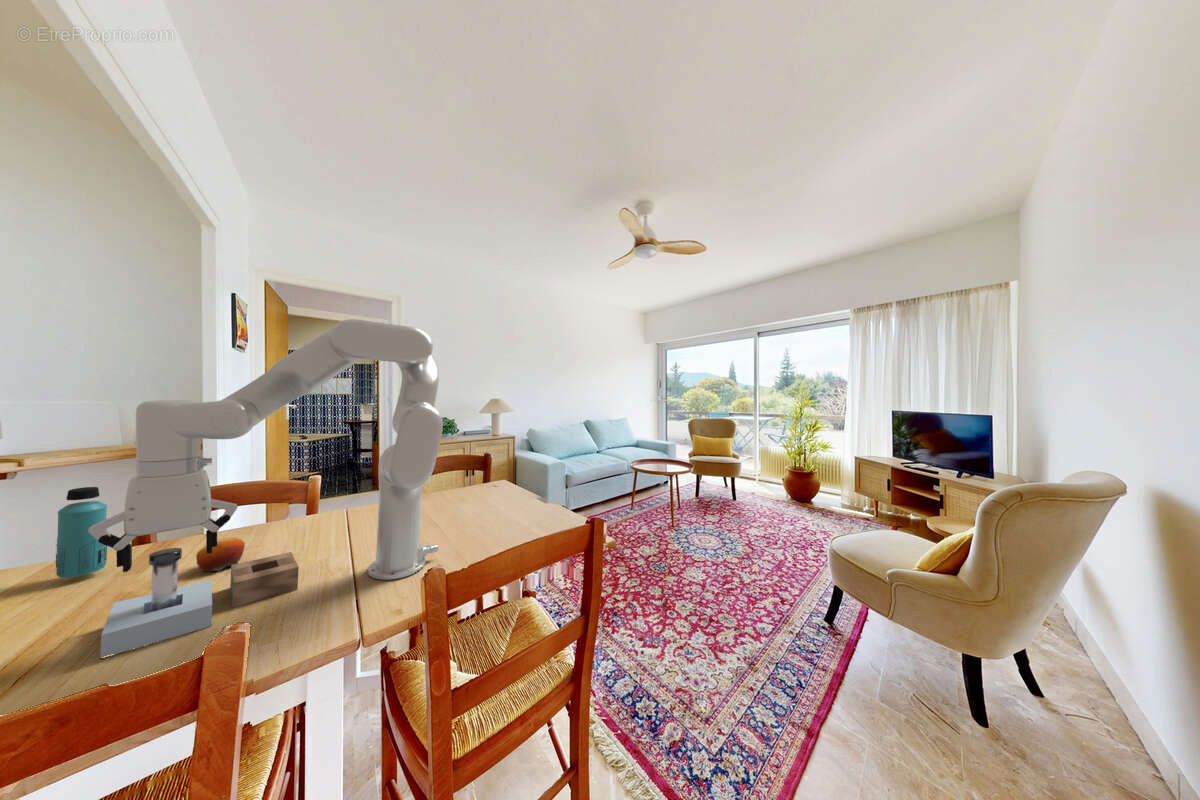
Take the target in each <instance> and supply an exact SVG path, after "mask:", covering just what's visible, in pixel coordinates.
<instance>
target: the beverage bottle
mask: <svg viewBox="0 0 1200 800" xmlns="http://www.w3.org/2000/svg"><path fill="white" fill-rule="evenodd" d="M98 497H100V491H99V487H97V486H86V487H77V488H76V487H75V488H73V489H69V490H68V491H67V495H66V498H65V499H66V501H79V502H74V503H70V504H67V505H65V506H64V507H61V509H59V510H58V511H57V537H56V547H55V550H56V553H55V568H56V569H55V570H54V571H55V573H54V574H56V576H57V577H58V578H61V579H67V578H74V577H76V578H77V577H81V576H86V575H89V574H93V573H95V572H99V571H101V570H102V569H104V568H105V566H106V564H107V563H108V559H107V556H108V546H106V545H104V544H101V543H99V542H98V540H97V539H95V538H94V537H93V536H92V535H91V534H90V533H89V532H88V529H89V528H90V527H91V526H93V525H95V524H97V523H99V522H102V521H104V520H106V519H107V513H108V511H107V509H108V505H107V504H106V503H104V502H101V501H99V500H88V499H95V498H98ZM80 500H82V501H81V502H80ZM83 500H87V501H83ZM106 530H107V531H108V528H107V529H106Z"/></svg>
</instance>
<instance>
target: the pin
mask: <svg viewBox="0 0 1200 800" xmlns="http://www.w3.org/2000/svg"><path fill="white" fill-rule="evenodd" d="M182 549H183V548H181V547H171V548H165V549H160V550H158V551H157V550H156V551H154V552H152V553H150V554H149V556H148V565H150V566H151V570H152V573H151V591H150V592H151V593H150V594H151V612H154V611H158V610H162V609H165V608H169V607H173V606H176V605H177V588H178V580H179V579H178V576H179V575H178V573H179V572H178V571H179V560H181V559H182V556H183V555H182V554H183V553H182V552H183V550H182Z"/></svg>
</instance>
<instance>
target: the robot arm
mask: <svg viewBox="0 0 1200 800" xmlns="http://www.w3.org/2000/svg"><path fill="white" fill-rule="evenodd" d="M433 348H434V344H433V341H432V339H431V336H429V334H428V333H426V332H425V331H424V330H422V329H420V328H417V327H413V326H409V325H408V326H407V325H402V324H401V325H400V324H394V323H393V324H392V323H384V322H377V321H371V320H364V319H358V318H357V319H355V318H349V319H344V320H341V321H339V322H337V323H336V324H335V325H334V326H333V327H332V328H330V329H328V330H327V331H326V332H323V333H322V334H321V335H318V336H317V337H315V338H313V339H312V340H311V341H309V342H306V344H304V345H302V346H301V347H299V348H297V349H295V350H294V351H292V352H289V354H287V355H286V356H284V357H282V358H281V359H279V360H278V361H276V362H275V363H274V364H273V365H272V366H271V367H269V369H268V370H267V371H266V372H264V373H263V374H262V375H260V376H259V377H257V378H256V379H254V380H252V381H250V382H249V383H248V384H246V385H245V386H243V387H241V388H240V389H238V390H236V391H234V392H233V393H231V394H230V395H228V396H226V397H224V398H223V399H221V400H215V401H205V402H196V401H191V400H183V399H182V400H175V399H174V400H173V399H172V400H171V399H168V400H166V399H165V400H163V399H161V400H158V399H157V400H148V401H143V402H141V403H139V404H138V406H136V411H135V425H136V426H135V431H136V432H135V435H136V436H135V439H136V440H135V443H136V447H135V448H136V449H135V450H136V451H135V452H136V455H135V457H136V462H135V463H136V466H135V467H136V476H134V477H131V478H130V479H129V482H128V486H127V490H126V494H125V503H124V511H121V512H120V513H117V514H115V515H113V516H111V517H108V518H106V520H104V521H102V522H99V523H97V524H95V525H93V526H91V527H90V528H89V529H88V532H89V533H90V534H91V535H92V536H93V537H94V538H95V539H97V540H98V542H99V543H101V544H104V545H106V546H107V547H110V548H111V549H113V550H114V551H116V567H117V568H121V567H122V573H127V572H129V571H130V570H131V568H132V565H133V556H132V555H133V545H132V544H131V542H133V540H134V539H135V538H137V537H139V536H146V535H152V534H159V533H165V532H169V531H175V530H180V529H181V530H182V529H185V528H191V527H197V526H201V527H203V528H204V529H206V530H205V534H206V535H205V536H206V544H205V546H206V553H208V554H210V553H212V547H216V546H217V540H218V531H219V530H220V529H221V528H222V527H223V526H224V525H226V524H227V523H228V522H229V521H230V520H231V518H232V516H233V515H234V514H235V513H236V511H237V510H238V504H237V503H233V502H229V501H223V500H220V499H219V500H218V499H214V498H212V494H211V484H210V479H209V475H208V472H207V470H206V469H205V470H203V468H204V467H207V466H212V465H213V461H212V460H213V459H212V457H209V458H207V457H203V456H201V455H202V454H201V453H202V451H201V450H202V447H201V446H202V445H201V444H202V443H201V439H205V440H208V439H209V440H234V439H238V438H240V437H242V436H243V437H244V436H245V435H246V434H248V433H249V432H251V430H252V429H253V428H254V427H255V426H256V425H258V424H260V423H261V422H262V421H264V420H265V419H267V418H268V417H270V416H271V415H273V414H274V413H276V412H277V411H278V410H280V409H282V408H283V407H285V406H286V405H288V404H290V403H292V402H293V401H295V400H297V399H299V398H300V397H303V396H306V395H308V394H311V393H312V392H314V391H315V390H317V389H319V388H321V387H322V386H323V385H325V384H326V383H327V382H329V381H330V380H332V379H334V378H335V377H336V376H338V375H339V374H342V373H343V372H344V371H345V370H347V369H348V368H351V367H352V366H353V365H354V364H357V362H359V361H361V360H370V361H378V362H379V361H380V362H389V363H390V362H392V363H395V364H396V365H397V366H398V367H399V370H400V372H401V383H400V389H399V394H398V397H397V401H396V402H397V403H396V407H395V409H394V412H393V416H392V418H391V419H392V422H391V425H392V429H393V430H394V431H395V432H396V439H395V443H394V444H392V445H390V446H388V447H387V448H386V449H385V450H384V451H383V452H382V454H381V455H380V458H379V460H378V468H377V469H378V472H377V473H378V490H379V491H378V510H377V511H378V512H377V513H378V514H377V530H376V531H377V532H376V551H375V552H376V553H375V554H376V555H375V556H376V557H375V560H374V561H373V562H371V563H370V565H369V566H368V567H367V568H368V569H367V573H368V576H370V578H373V579H376V580H382V581H383V580H385V581H386V580H387V581H388V580H389V581H390V580H398V579H402V578H405V577H408V576H411V575H413V574H415V572H416V573H417V571H418V570H419V571H421V570H422V569H421V567H422V566H423V565H424V563H425V564H426V557H427V555H428V554H434V553H437V552H438V551H439V545H438V544H436V543H435V544H432V545H430V543H425V544H424V543H423V544H422V545H421V544H420V541H421V540H420V538H421V521H422V520H421V519H422V518H421V517H422V499H423V491H422V490H423V489H422V486H423V485H425V484H426V483H427V482H428V481H429V479H430V478H431V477H432V475H433V472H434V470H435V466H436V461H437V457H438V453H439V449H440V444H441V440H442V435H443V429H444V423H443V418H442V415H441V413H440V412H439V410H438V409H437V408H436V407H435V404H436V400H437V393H438V388H439V371H438V367H437V365H436V362H435V360H434V359H433V357H432V353H433ZM201 468H202V469H201ZM212 508H213V509H219V510H223V511H224V512H223V513H222V515H221V516H220V517H219V518H217V519H216V520H214V519H213V518H211V515H212ZM121 522H123V531H124V534H123V535H122V536H121V537H119V536H116V535H114V534H112V533H110V532H108V529H109V528H111V527H113V526H115V525H118V524H119V523H121ZM106 529H107V530H106ZM424 566H425V565H424ZM419 571H418V572H419Z"/></svg>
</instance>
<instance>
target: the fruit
mask: <svg viewBox="0 0 1200 800" xmlns="http://www.w3.org/2000/svg"><path fill="white" fill-rule="evenodd" d="M245 544H246V543H245V541H244V540H242V538H238V537H236V536H235V537H232V536H231V537H229V536H227V537H223V538H220V539H217V546H216V547H212V553H210V554H208V553H206V545H204V546H203V547H202V548H201V549H200V550H198V551H197V553H196V565H197V566H198V568H199V569H200V570H202V571H205V572H214V571H215V572H218V571H219V572H221V571H222V570H223V569H224V568H227V567H229V566H231V565H235V564H239V563H240V560H241V559H242V556H243V554H244V550H245Z"/></svg>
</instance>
